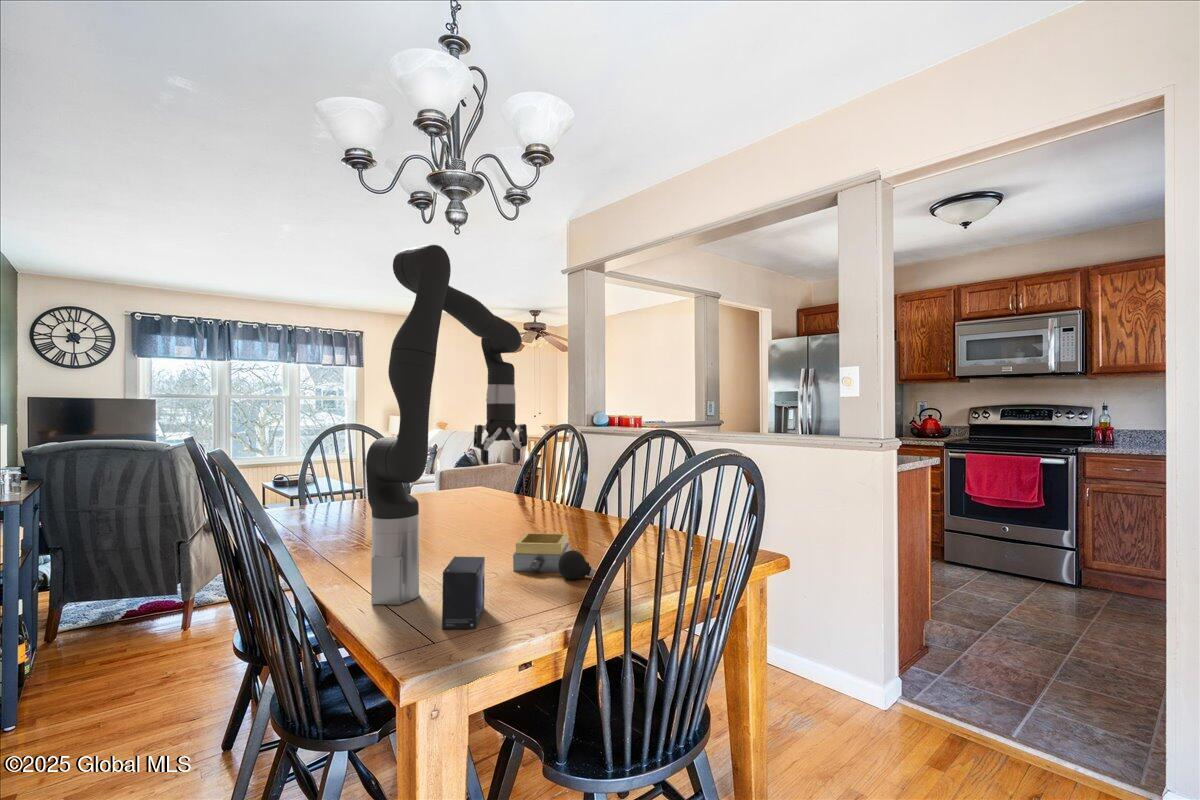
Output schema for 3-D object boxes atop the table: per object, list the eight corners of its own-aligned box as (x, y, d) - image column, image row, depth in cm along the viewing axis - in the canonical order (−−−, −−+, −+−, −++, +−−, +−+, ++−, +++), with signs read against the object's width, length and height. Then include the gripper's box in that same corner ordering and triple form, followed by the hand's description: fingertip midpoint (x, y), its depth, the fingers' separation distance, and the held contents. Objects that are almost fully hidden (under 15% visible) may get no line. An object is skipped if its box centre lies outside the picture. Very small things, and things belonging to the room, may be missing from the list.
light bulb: (606, 562, 130) (564, 547, 129) (596, 590, 128) (554, 574, 128) (602, 560, 136) (563, 545, 136) (593, 587, 135) (553, 572, 134)
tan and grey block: (560, 576, 134) (560, 548, 134) (510, 574, 135) (510, 547, 135) (569, 558, 148) (569, 533, 148) (524, 557, 150) (524, 532, 150)
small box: (477, 629, 103) (477, 571, 103) (440, 630, 102) (440, 572, 102) (486, 608, 113) (486, 555, 113) (452, 609, 113) (452, 555, 113)
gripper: (480, 402, 144) (480, 466, 144) (531, 402, 152) (531, 463, 152) (470, 402, 150) (469, 464, 150) (519, 402, 158) (519, 461, 158)
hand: (500, 463), depth 151 cm, fingers open, 8 cm apart
